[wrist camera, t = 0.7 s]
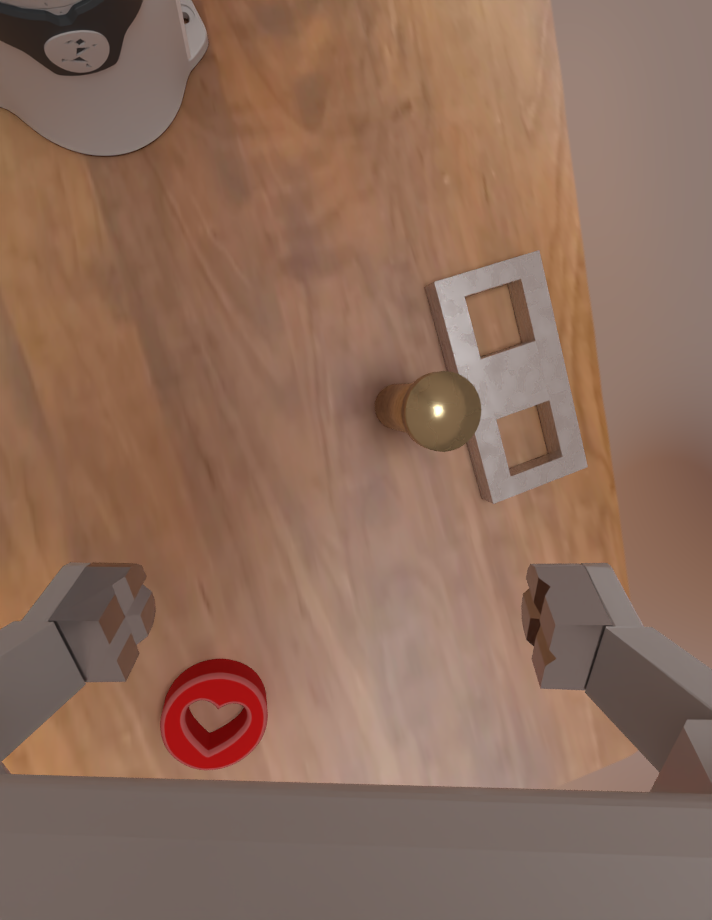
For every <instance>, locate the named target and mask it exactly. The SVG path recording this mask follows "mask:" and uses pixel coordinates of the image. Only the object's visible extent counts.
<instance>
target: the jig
mask: <svg viewBox="0 0 712 920" xmlns="http://www.w3.org/2000/svg"><path fill="white" fill-rule="evenodd" d="M506 284H508V288H509V292H510V296H511V300H512V304H513V309H514V313H515V317H516V321H517V325H518V329H519V334H520V338H521V342H522V343H521V344H518V345H515V346H512V347H509V348H506V349H503V350H500V351H497V352H494V353H491V354H488V355H485V356H482V357H480V355H479V351H478V347H477V343H476V339H475V336H474V332H473V328H472V324H471V320H470V316H469V312H468V308H467V304H466V300H465V297H467V296H470V295H474V294H477V293H480V292H483V291H487V290H490V289H493V288H496V287H499V286H503V285H506ZM425 291H426V294H427V298H428V302H429V305H430V309H431V313H432V316H433V320H434V324H435V328H436V331H437V335H438V339H439V342H440V346H441V350H442V353H443V357H444V361H445V364H446V368H447V371H449V372H454V373H457V374H460V375H462V376H463V377H465V378H466V379H468V380H469V381H470V382H471V383H472V385H473V386H474V387H475V389H476V391H477V393H478V395H479V398H480V402H481V418H480V422H479V425H478V428H477V430H476V432H475V433H474V435H473V436H472V438H471V439H470V440H469V441H468V442H467V446H468V449H469V453H470V457H471V460H472V464H473V468H474V472H475V475H476V479H477V483H478V486H479V490H480V494H481V497H482V499H484V500H486V501H488V502H490V503H493V504H494V503H497V502H499V501H502V500H504V499H507V498H510V497H512V496H515V495H517V494H520V493H522V492H525V491H527V490H530V489H533V488H535V487H538V486H540V485H543V484H545V483H548V482H551V481H553V480H556V479H558V478H561V477H563V476H566V475H568V474H571V473H574V472H576V471H579V470H581V469H584V468H586V467H588V466H587V462H586V457H585V453H584V448H583V444H582V439H581V435H580V430H579V426H578V421H577V417H576V412H575V408H574V403H573V399H572V395H571V390H570V386H569V381H568V377H567V372H566V368H565V363H564V359H563V354H562V350H561V345H560V341H559V336H558V332H557V327H556V323H555V319H554V314H553V310H552V305H551V301H550V296H549V292H548V287H547V283H546V278H545V274H544V269H543V265H542V260H541V256H540V251H539V250H538V251H535V252H532V253H529V254H525V255H522V256H519V257H515V258H512V259H509V260H505V261H502V262H499V263H495V264H492V265H489V266H485V267H482V268H479V269H476V270H472V271H469V272H466V273H462V274H459V275H456V276H452V277H449V278H446V279H442V280H439V281H436V282H433V283H431V284H430V285H428V286H426V287H425ZM535 405H537V409H538V413H539V417H540V422H541V426H542V430H543V434H544V438H545V443H546V447H547V451H548V454H546V455H544V456H541V457H538V458H536V459H533V460H531V461H528V462H525V463H523V464H520V465H517V466H515V467H512V468H510V469H509V468H508V464H507V460H506V456H505V453H504V449H503V445H502V441H501V437H500V433H499V429H498V425H497V421H496V419H499V418H501V417H504V416H507V415H510V414H512V413H515V412H518V411H521V410H524V409H526V408H529V407H532V406H535Z"/></svg>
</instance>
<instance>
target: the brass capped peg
mask: <svg viewBox="0 0 712 920" xmlns="http://www.w3.org/2000/svg"><path fill="white" fill-rule="evenodd" d="M375 412H376V416H377V418H378V420H379V421H380V422H381V423H382V424H383V425H384V426H386V427H388V428H391V429H395V430H399V431H402V432H406V433H408V435H409V436H410V438H411V439H412V440H413V441H414V442H416V443H417V444H419V445H420V446H422V447H424V448H427V449H431V450H434V451H440V452H445V451H451V450H455V449H457V448H459V447H461V446H463V445H464V444H465V443H467V442H468V441H469V440H470V439H471V438H472V436H473V435H474V433H475V432H476V430H477V428H478V425H479V422H480V418H481V402H480V398H479V395H478V393H477V391H476V389H475V387H474V386H473V385H472V383H471V382H470V381H469V380H468V379H466V378H465V377H463V376H462V375H460V374H457V373H454V372H449V371H441V372H432V373H428V374H426V375H423V376H422V377H420V378H418V379H417V380H416V381H415V382H414V383H408V384H392V385H389V386H387V387H385V388H384V389H383V390H382V391H381V392H380V393H379V394H378V396H377V398H376V401H375Z"/></svg>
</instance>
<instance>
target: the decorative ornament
mask: <svg viewBox="0 0 712 920" xmlns="http://www.w3.org/2000/svg"><path fill="white" fill-rule="evenodd" d="M199 700H206V701H209V702H211V703H213V704H214V705H215V706H216V707H217V709H219V708H221V707H222V706H224V705H227V704H231V703H237V704H240V705H242V706H244V709H243V710H242V712H241V713H240V714H239V715H238V716H237V717H236V718H235V719H233V720H232V721H231V722H229V723H228V724H227V725H225V726H223V727H221V728H220V729H218V730H216V731H214V732H211V733H209V732H207V731H206V730H205V729H204V728H203V727H202V726H201V725H200V724H199V723H198V722H197V721H196V719H195V718H194V717H193V715H192V714H191V712H190V710H189V707H188V706H189V705H190V704H192V703H193V702H196V701H199ZM267 717H268V712H267V701H266V692H265V688H264V685H263V683H262V681H261V679H260V677H259V676H258V675H257V673H256V672H255V671H254V670H252V669H251V668H250V667H248V666H247V665H245V664H242V663H240V662H237V661H233V660H229V659H212V660H207V661H203V662H200V663H198V664H196V665H194V666H192V667H190V668H188V669H187V670H185V671H184V672H183V673H182V674H181V675H180V676H179V677H178V678H177V679H176V680H175V681H174V682H173V684H172V685H171V687H170V689H169V691H168V693H167V695H166V699H165V703H164V707H163V711H162V715H161V721H160V728H161V736H162V740H163V742H164V745H165V747H166V749H167V750H168V751H169V753H170V754H171V755H172V756H173V757H174V758H175V759H177V760H178V761H179V762H181V763H183V764H184V765H186V766H189V767H191V768H195V769H199V770H215V769H221V768H225V767H228V766H230V765H233V764H235V763H237V762H239V761H240V760H242V759H243V758H245V757H246V756H247V755H248V754H249V753H251V752H252V751H253V750H254V748H255V747H256V746H257V745H258V744H259V742H260V740H261V739H262V737H263V734H264V732H265V729H266V725H267Z"/></svg>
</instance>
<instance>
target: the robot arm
mask: <svg viewBox="0 0 712 920" xmlns="http://www.w3.org/2000/svg"><path fill="white" fill-rule="evenodd" d="M183 18H186V19H188V20H189V23H187V24H184V19H183ZM207 48H208V36H207V32H206V28H205V26H204V24H203V22H202V20H201V18H200V16H199V14H198V12H197V10H196V8H195V6H194V4H193V2H192V0H0V107H2V108H5V109H7V110H9V111H11V112H12V113H14V114H15V115H17V116H18V117H19V118H20V119H22V120H23V121H24V122H25V123H26V124H28V125H29V126H30V127H31V128H32V129H34V130H35V131H36V132H38V133H39V134H40V135H42V136H44V137H45V138H47V139H48V140H50V141H52V142H54V143H56V144H58V145H60V146H62V147H65V148H67V149H70V150H73V151H76V152H80V153H84V154H89V155H99V156H111V155H120V154H125V153H129V152H132V151H135V150H138V149H140V148H142V147H144V146H146V145H148V144H149V143H151V142H152V141H154V140H155V139H156V138H158V137H159V136H160V135H161V134H162V133H163V132H164V131H165V130H166V129H167V128H168V126H169V125H170V124H171V122H172V121H173V119H174V118H175V116H176V114H177V112H178V110H179V107H180V105H181V102H182V99H183V95H184V91H185V87H186V82H187V79H188V76H189V74H190V72H191V70H192V69H193V68H194V67H195V66H196V65H197V63H198V62H199V61H200V60H201V58H202V57H203V55H204V54H205V52H206V50H207ZM146 577H147V576H146V574H145V572H144V569H143V567H142V565H139V564H133V563H94V562H93V563H76V562H70V563H68V564H66V565H64V566H63V567H62V568H61V569H60V571H59V572H58V573H57V575H56V576H55V577H54V579H53V580H52V581H51V583H50V584H49V585H48V586H47V588H46V589H45V590H44V592H43V593H42V594H41V596H40V597H39V598H38V600H37V601H36V602H35V603H34V605H33V606H32V607H31V609H30V610H29V611H28V613H27V614H26V615H25V617H24V618H23V619H22V620H21V621H14V622H12V623H10V624H9V625H7V626H5V627H4V628H2V629H0V920H712V669H710V668H709V667H708V666H706V665H705V664H703V663H702V662H700V661H699V660H698V659H696V658H695V657H694V656H692V655H691V654H689V653H688V652H687V651H685V650H684V649H682V648H681V647H679V646H678V645H677V644H675V643H674V642H672V641H671V640H670V639H668V638H667V637H665V636H664V635H662V634H661V633H660V632H658V631H657V630H655V629H654V628H652V627H644V626H643V624H642V622H641V620H640V619H639V617H638V615H637V613H636V611H635V610H634V608H633V606H632V604H631V602H630V600H629V598H628V597H627V595H626V593H625V591H624V589H623V587H622V586H621V584H620V582H619V580H618V578H617V576H616V575H615V573H614V571H613V569H612V567H611V566H610V565H609V564H607V563H581V564H530V566H529V567H528V570H527V575H526V580H527V583H528V586H529V589H528V590H527V591H526V592H524V593H523V598H522V605H521V610H522V624H523V629H524V633H525V637H526V640H527V641H528V642H529V643H530V644H532V645H533V646H534V649H533V654H532V662H533V665H534V668H535V672H536V675H537V679H538V682H539V685H540V688H544V689H567V690H586V691H585V693H586V694H587V695H588V696H589V697H590V698H591V699H592V701H593V702H594V703H595V704H596V705H597V706H598V707H599V708H600V709H601V710H602V711H603V712H604V713H605V715H606V716H607V717H608V718H609V719H610V720H611V721H612V722H613V723H614V724H615V725H616V726H617V727H618V728H619V730H620V731H621V732H622V733H623V734H624V735H625V736H626V737H627V738H628V739H629V740H630V741H631V742H632V744H633V745H634V746H635V747H636V748H637V749H638V750H639V751H640V752H641V753H642V754H643V755H644V756H645V757H646V759H648V761H649V762H650V763H651V764H652V765H653V766H654V767H655V768H656V769H657V770H658V771H659V775H658V777H657V779H656V781H655V783H654V785H653V787H652V789H651V791H650V792H623V791H587V790H586V791H585V790H552V789H517V788H481V787H445V786H410V785H374V784H338V783H302V782H266V781H230V780H194V779H159V778H124V777H88V776H53V775H18V774H11V773H10V772H9V771H8V769H7V768H6V767H5V765H4V764H3V763H2V762H1V761H3V760H4V759H5V758H6V757H7V756H8V755H9V754H10V753H11V752H12V751H13V750H15V749H16V748H17V747H18V746H19V745H20V744H21V743H22V742H23V741H24V740H25V739H27V738H28V737H29V736H30V735H31V734H32V733H33V732H34V731H35V730H36V729H37V728H39V727H40V726H41V725H42V724H43V723H44V722H45V721H46V720H47V719H48V718H50V717H51V716H52V715H53V714H54V713H55V712H56V711H57V710H58V709H59V708H60V707H62V706H63V705H64V704H65V703H66V702H67V701H68V700H69V699H70V698H71V697H72V696H74V695H75V694H76V693H77V692H78V691H79V690H80V689H81V688H82V687H83V686H84V685H85V684H86V683H85V682H126V680H127V678H128V676H129V674H130V672H131V670H132V668H133V666H134V664H135V662H136V660H137V658H138V656H139V651H138V648H137V644H138V643H139V642H141V641H142V640H143V639H145V638H146V637H147V636H148V635H149V632H150V630H151V628H152V626H153V623H154V617H155V612H156V609H155V599H154V596H153V593H152V592H151V591H150V590H149V589H148V588H146V587H145V586H144V585H143V583H144V581H145V579H146Z"/></svg>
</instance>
